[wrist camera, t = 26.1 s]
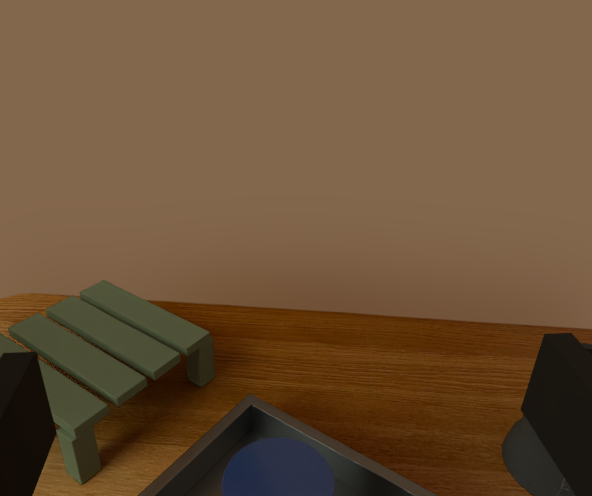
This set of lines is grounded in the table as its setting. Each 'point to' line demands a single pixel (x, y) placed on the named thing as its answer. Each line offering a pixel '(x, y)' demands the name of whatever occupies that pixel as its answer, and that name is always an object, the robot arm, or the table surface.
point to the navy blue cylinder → (278, 470)
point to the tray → (266, 424)
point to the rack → (105, 360)
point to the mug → (533, 460)
